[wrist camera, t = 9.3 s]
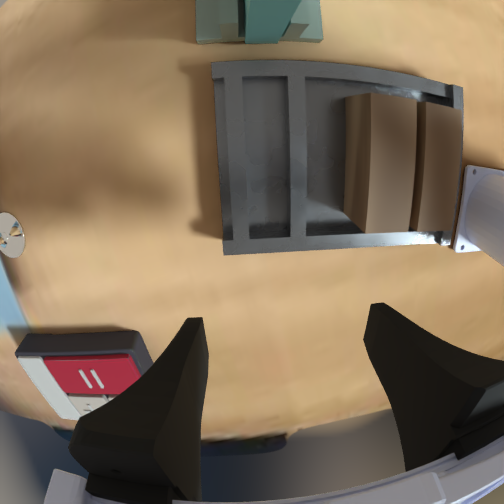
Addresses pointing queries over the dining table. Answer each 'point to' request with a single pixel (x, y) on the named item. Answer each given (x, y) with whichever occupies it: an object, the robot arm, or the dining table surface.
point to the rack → (300, 152)
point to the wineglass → (11, 236)
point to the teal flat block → (267, 19)
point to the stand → (232, 22)
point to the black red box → (83, 367)
